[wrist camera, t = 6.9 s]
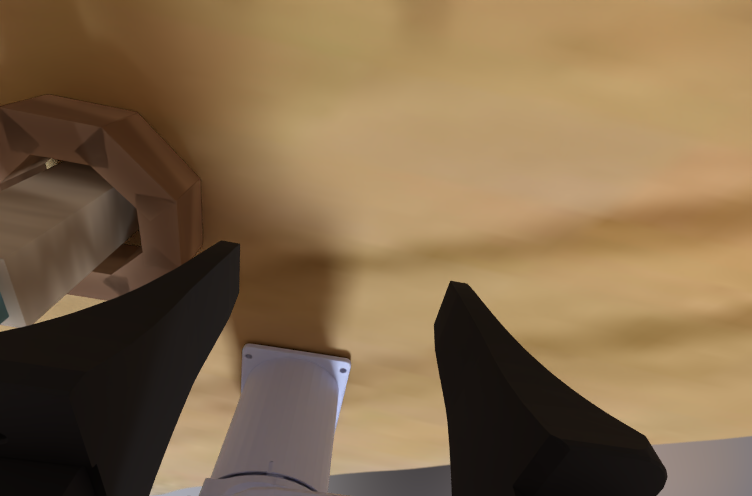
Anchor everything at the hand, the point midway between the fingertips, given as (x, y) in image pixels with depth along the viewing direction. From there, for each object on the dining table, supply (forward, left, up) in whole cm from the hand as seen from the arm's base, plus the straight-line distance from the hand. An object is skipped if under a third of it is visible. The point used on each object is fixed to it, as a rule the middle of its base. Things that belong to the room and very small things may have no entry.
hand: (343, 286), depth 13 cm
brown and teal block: (-4, +14, -10) cm, 18 cm away
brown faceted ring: (-4, +14, -10) cm, 18 cm away
